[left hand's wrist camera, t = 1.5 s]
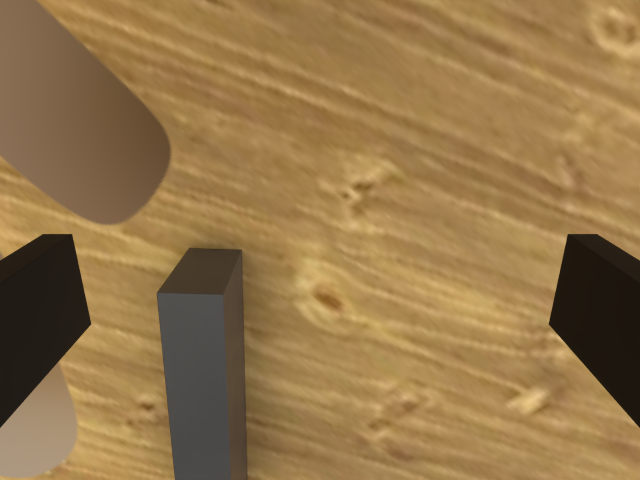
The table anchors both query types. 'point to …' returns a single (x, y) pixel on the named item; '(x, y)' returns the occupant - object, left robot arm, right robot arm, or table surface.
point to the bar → (205, 364)
